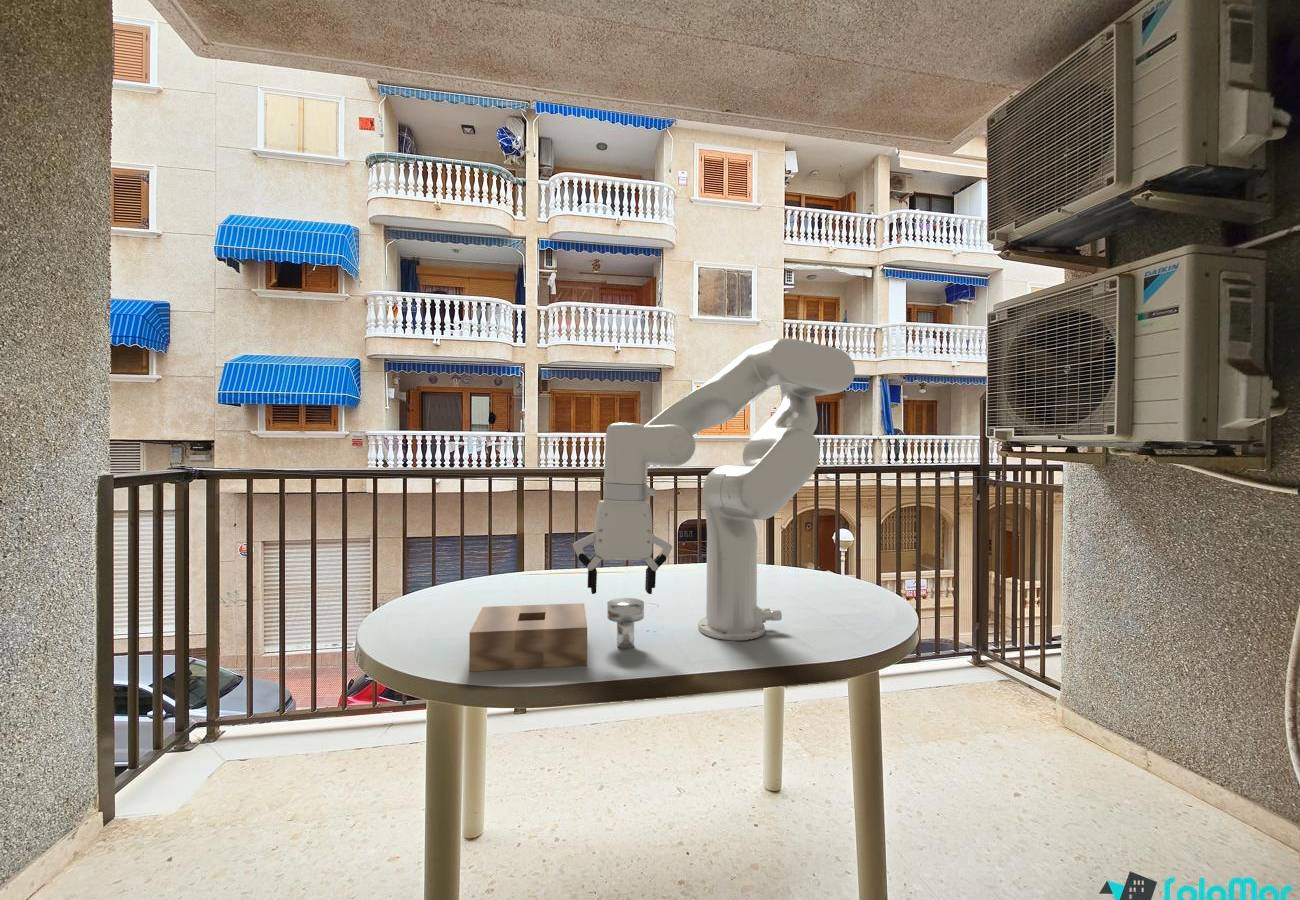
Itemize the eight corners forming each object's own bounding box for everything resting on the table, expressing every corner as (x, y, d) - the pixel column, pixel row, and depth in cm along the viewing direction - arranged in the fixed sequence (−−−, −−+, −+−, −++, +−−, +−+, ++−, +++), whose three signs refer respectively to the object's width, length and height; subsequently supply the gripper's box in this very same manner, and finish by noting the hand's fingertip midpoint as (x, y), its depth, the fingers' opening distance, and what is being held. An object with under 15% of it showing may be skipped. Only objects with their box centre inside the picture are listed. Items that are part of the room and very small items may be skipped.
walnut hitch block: (583, 635, 102) (584, 603, 102) (587, 665, 88) (587, 627, 88) (482, 640, 99) (482, 606, 99) (469, 671, 85) (469, 632, 85)
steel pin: (641, 638, 101) (641, 597, 101) (646, 651, 94) (646, 607, 94) (605, 640, 100) (606, 598, 100) (608, 653, 93) (608, 608, 93)
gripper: (669, 493, 102) (666, 587, 102) (574, 491, 99) (570, 587, 99) (677, 496, 94) (674, 597, 94) (575, 493, 92) (571, 597, 91)
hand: (621, 592), depth 96 cm, fingers open, 9 cm apart
